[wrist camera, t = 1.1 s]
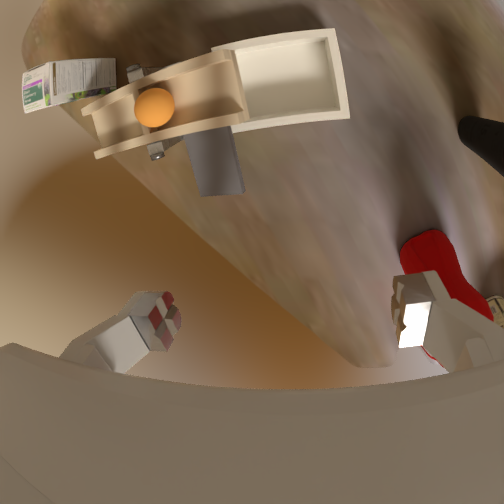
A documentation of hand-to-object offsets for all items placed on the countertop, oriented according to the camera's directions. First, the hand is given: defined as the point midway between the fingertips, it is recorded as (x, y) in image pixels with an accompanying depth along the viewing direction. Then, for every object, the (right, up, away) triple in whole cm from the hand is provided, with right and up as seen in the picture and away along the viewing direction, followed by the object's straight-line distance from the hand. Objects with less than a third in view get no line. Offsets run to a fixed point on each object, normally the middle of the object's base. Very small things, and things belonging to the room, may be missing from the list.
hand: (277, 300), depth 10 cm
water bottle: (+27, +1, +33) cm, 43 cm away
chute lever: (-9, +17, +23) cm, 30 cm away
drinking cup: (+31, +19, +20) cm, 41 cm away
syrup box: (-24, +28, +23) cm, 44 cm away
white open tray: (+3, +24, +22) cm, 32 cm away
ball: (-10, +15, +14) cm, 23 cm away
